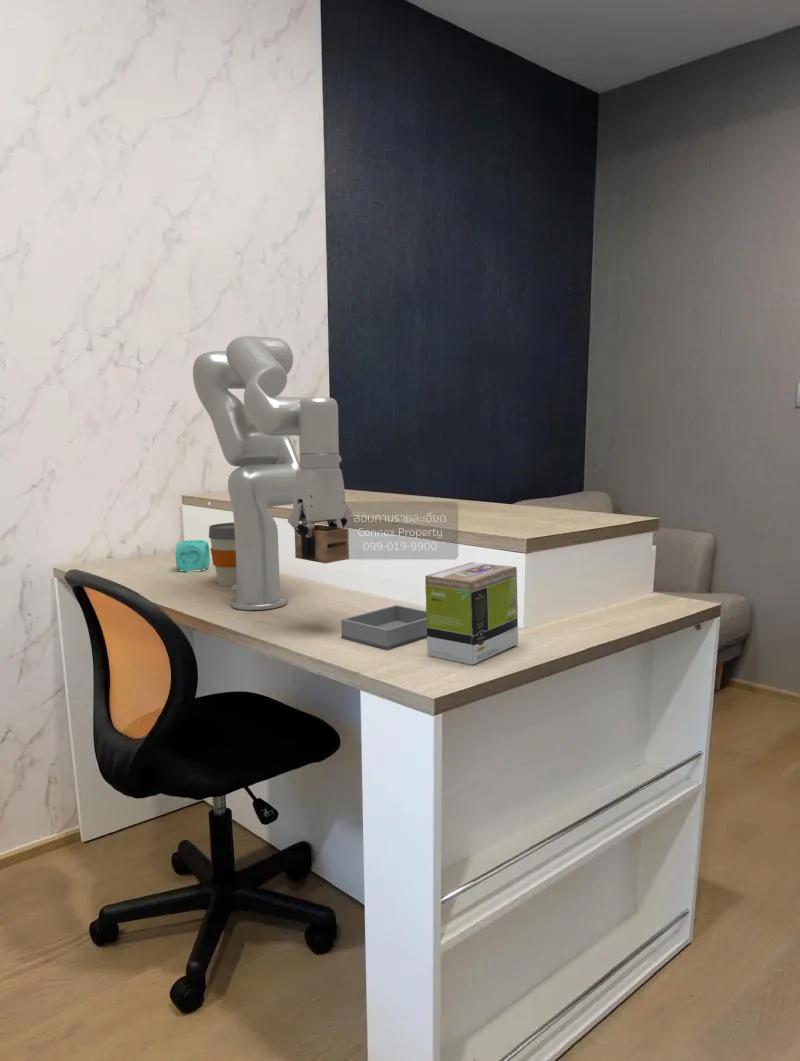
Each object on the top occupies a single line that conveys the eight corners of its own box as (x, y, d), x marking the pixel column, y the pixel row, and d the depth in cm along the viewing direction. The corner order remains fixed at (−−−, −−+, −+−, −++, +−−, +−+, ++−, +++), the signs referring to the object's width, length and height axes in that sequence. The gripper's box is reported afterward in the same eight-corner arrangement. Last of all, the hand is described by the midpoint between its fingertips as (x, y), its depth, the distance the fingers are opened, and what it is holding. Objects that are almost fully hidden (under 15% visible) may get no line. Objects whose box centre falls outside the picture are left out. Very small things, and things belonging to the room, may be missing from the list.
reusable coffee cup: (266, 577, 205) (263, 522, 203) (252, 587, 193) (249, 528, 191) (220, 577, 207) (217, 522, 205) (204, 587, 194) (200, 528, 192)
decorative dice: (182, 567, 223) (181, 540, 222) (210, 566, 223) (209, 539, 222) (176, 572, 215) (174, 544, 214) (205, 572, 215) (203, 543, 214)
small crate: (295, 557, 151) (294, 527, 150) (318, 553, 156) (317, 524, 155) (325, 563, 145) (324, 532, 144) (348, 559, 149) (348, 528, 148)
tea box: (473, 637, 146) (473, 560, 144) (519, 646, 139) (519, 565, 137) (425, 656, 134) (423, 573, 132) (472, 667, 128) (472, 579, 126)
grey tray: (341, 637, 146) (341, 619, 146) (396, 622, 157) (396, 605, 157) (387, 650, 138) (387, 630, 138) (442, 632, 149) (442, 614, 148)
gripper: (339, 459, 156) (341, 547, 159) (271, 464, 144) (274, 558, 147) (365, 461, 151) (366, 551, 154) (296, 465, 139) (299, 563, 141)
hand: (321, 554), depth 150 cm, fingers closed on small crate, 6 cm apart
